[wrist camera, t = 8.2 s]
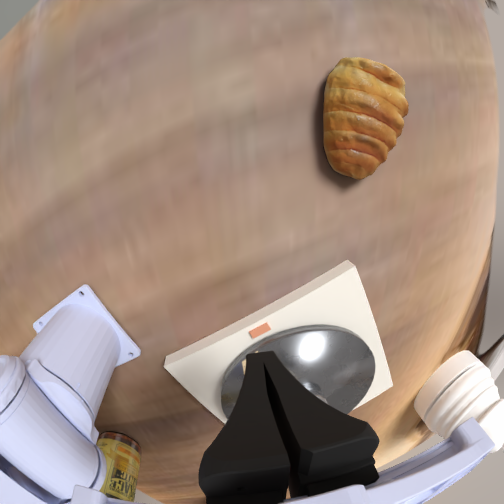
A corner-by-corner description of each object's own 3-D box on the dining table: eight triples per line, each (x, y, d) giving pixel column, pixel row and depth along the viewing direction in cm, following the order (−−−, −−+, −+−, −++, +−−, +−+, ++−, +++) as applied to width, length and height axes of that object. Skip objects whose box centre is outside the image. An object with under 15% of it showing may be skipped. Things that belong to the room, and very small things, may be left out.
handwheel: (390, 373, 25) (407, 397, 21) (283, 444, 27) (290, 470, 23) (322, 289, 20) (343, 316, 17) (186, 391, 22) (184, 424, 18)
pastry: (374, 188, 21) (401, 194, 17) (301, 161, 20) (318, 162, 16) (396, 90, 18) (423, 82, 15) (328, 56, 17) (348, 39, 13)
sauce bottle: (149, 453, 28) (141, 574, 9) (112, 451, 28) (95, 561, 9) (128, 428, 26) (107, 566, 7) (89, 426, 26) (59, 548, 7)
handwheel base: (258, 442, 29) (260, 452, 27) (165, 356, 23) (163, 368, 21) (387, 378, 28) (393, 386, 26) (347, 259, 22) (356, 266, 20)
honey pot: (481, 339, 30) (548, 401, 13) (457, 393, 34) (506, 453, 17) (427, 367, 29) (499, 454, 12) (404, 421, 33) (452, 497, 16)
